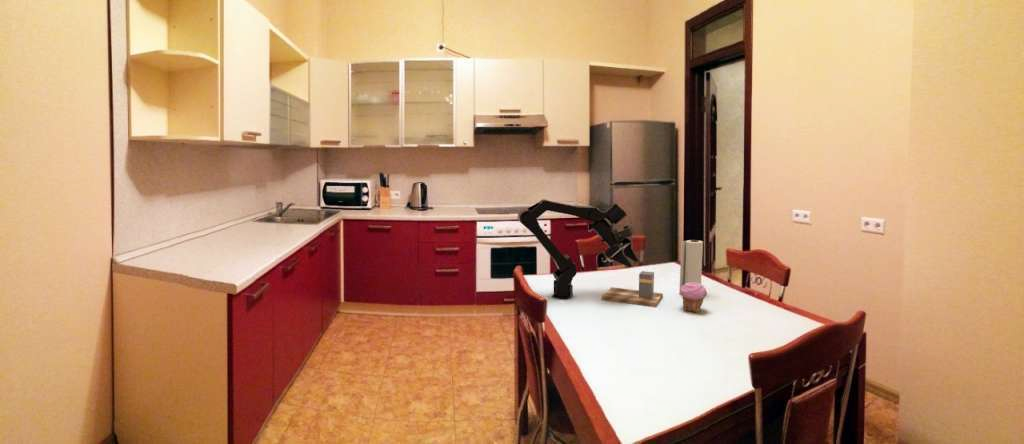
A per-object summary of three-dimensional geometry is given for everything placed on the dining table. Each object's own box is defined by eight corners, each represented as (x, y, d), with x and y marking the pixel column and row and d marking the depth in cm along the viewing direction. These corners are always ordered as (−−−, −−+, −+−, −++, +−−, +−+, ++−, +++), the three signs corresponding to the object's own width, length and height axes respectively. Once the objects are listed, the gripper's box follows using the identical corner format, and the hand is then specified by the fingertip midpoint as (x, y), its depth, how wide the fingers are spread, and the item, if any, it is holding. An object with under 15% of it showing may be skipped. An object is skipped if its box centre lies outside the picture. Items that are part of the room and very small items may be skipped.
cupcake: (674, 310, 160) (676, 282, 159) (685, 304, 166) (686, 277, 165) (700, 316, 154) (701, 287, 153) (710, 309, 160) (711, 282, 159)
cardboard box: (601, 299, 173) (601, 295, 173) (611, 290, 184) (611, 287, 184) (655, 307, 164) (656, 303, 163) (662, 297, 175) (662, 293, 175)
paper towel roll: (702, 294, 179) (704, 240, 176) (698, 298, 174) (701, 242, 171) (682, 291, 183) (684, 238, 180) (679, 295, 178) (681, 241, 175)
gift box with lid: (638, 297, 171) (639, 273, 169) (641, 293, 175) (641, 271, 173) (651, 298, 168) (651, 275, 167) (653, 295, 172) (654, 272, 171)
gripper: (614, 222, 164) (644, 255, 160) (628, 216, 180) (655, 246, 176) (592, 242, 169) (621, 274, 165) (608, 234, 185) (634, 263, 181)
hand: (634, 264), depth 172 cm, fingers open, 9 cm apart
